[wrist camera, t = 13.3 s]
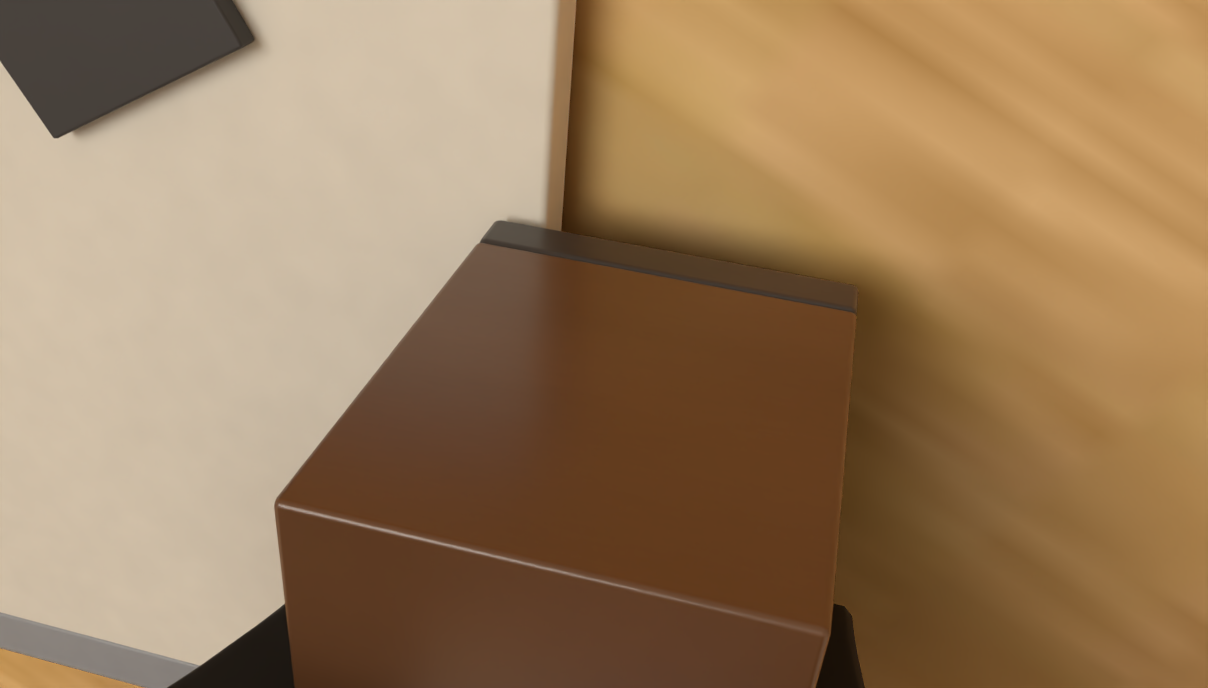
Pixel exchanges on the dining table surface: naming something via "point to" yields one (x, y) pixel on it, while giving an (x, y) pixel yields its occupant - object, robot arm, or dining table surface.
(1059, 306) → the dining table surface
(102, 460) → the whiteboard
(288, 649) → the robot arm
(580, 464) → the brown rectangular block
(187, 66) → the dark grey tile
